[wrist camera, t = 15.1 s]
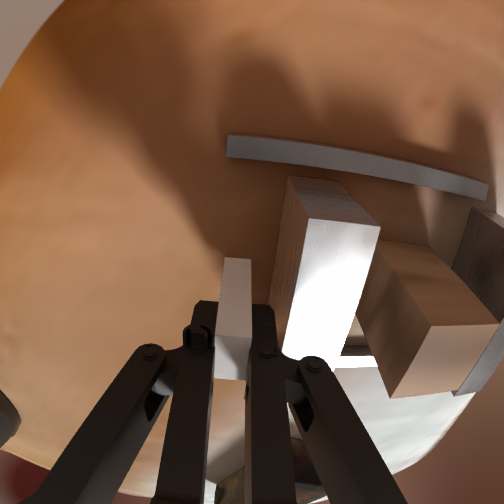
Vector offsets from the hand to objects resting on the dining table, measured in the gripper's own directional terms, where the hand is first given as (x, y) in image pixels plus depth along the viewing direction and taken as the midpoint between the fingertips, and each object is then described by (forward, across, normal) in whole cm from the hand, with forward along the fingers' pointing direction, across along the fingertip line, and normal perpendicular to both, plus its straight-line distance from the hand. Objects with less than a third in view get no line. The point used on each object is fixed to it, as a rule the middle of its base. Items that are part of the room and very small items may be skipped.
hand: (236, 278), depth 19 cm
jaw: (+2, +4, 0) cm, 4 cm away
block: (+2, +11, 0) cm, 11 cm away
